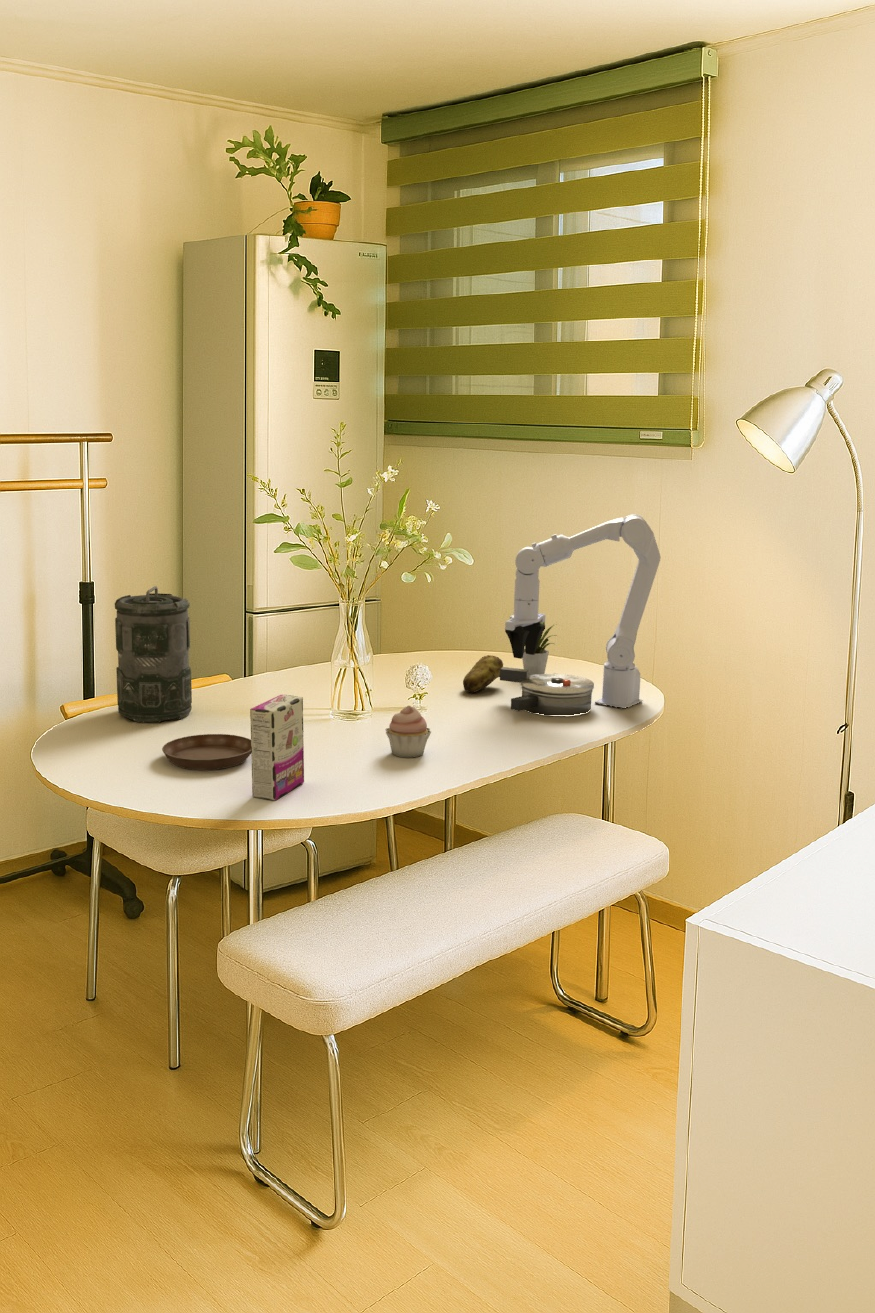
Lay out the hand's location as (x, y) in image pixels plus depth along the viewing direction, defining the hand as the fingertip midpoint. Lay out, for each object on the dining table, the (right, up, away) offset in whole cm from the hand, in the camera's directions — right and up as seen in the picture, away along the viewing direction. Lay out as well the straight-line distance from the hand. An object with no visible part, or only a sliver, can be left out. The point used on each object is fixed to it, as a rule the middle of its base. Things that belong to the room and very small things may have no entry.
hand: (524, 656), depth 281 cm
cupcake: (-26, -20, -43) cm, 54 cm away
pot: (+5, -12, -7) cm, 15 cm away
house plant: (+4, -5, +29) cm, 29 cm away
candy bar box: (-49, -24, -67) cm, 86 cm away
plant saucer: (-65, -20, -50) cm, 84 cm away
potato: (-10, -8, +10) cm, 17 cm away
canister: (-82, -13, -19) cm, 86 cm away
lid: (+5, -7, -5) cm, 10 cm away
